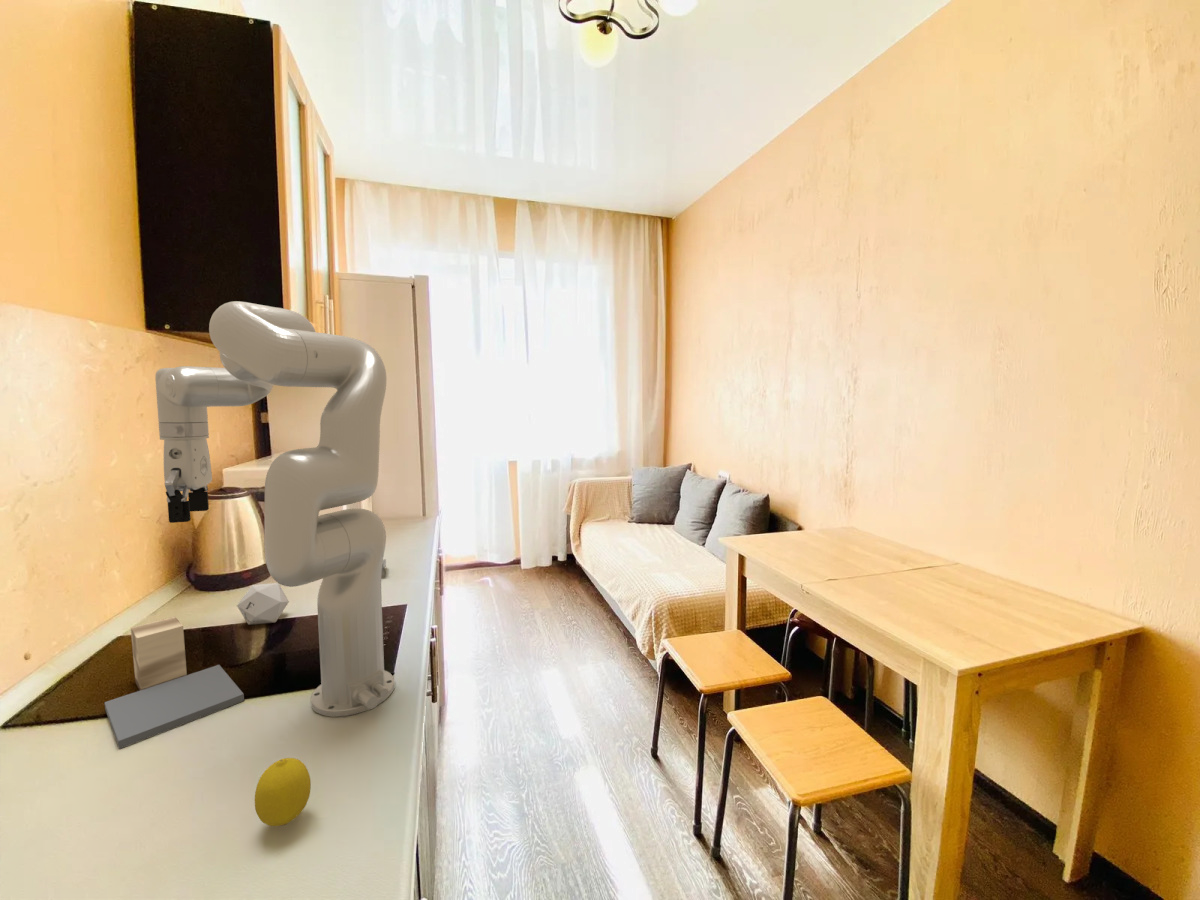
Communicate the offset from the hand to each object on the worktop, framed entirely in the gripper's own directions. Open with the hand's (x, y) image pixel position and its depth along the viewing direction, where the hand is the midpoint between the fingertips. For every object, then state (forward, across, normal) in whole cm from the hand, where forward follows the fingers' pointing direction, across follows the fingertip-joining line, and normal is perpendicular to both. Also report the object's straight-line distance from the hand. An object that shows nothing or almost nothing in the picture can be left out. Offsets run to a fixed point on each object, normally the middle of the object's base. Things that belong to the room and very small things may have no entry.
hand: (190, 516), depth 100 cm
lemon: (+25, -58, -27) cm, 69 cm away
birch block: (+26, -16, 0) cm, 31 cm away
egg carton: (+26, +30, -31) cm, 51 cm away
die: (+26, +6, -10) cm, 29 cm away
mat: (+26, -26, -5) cm, 37 cm away
